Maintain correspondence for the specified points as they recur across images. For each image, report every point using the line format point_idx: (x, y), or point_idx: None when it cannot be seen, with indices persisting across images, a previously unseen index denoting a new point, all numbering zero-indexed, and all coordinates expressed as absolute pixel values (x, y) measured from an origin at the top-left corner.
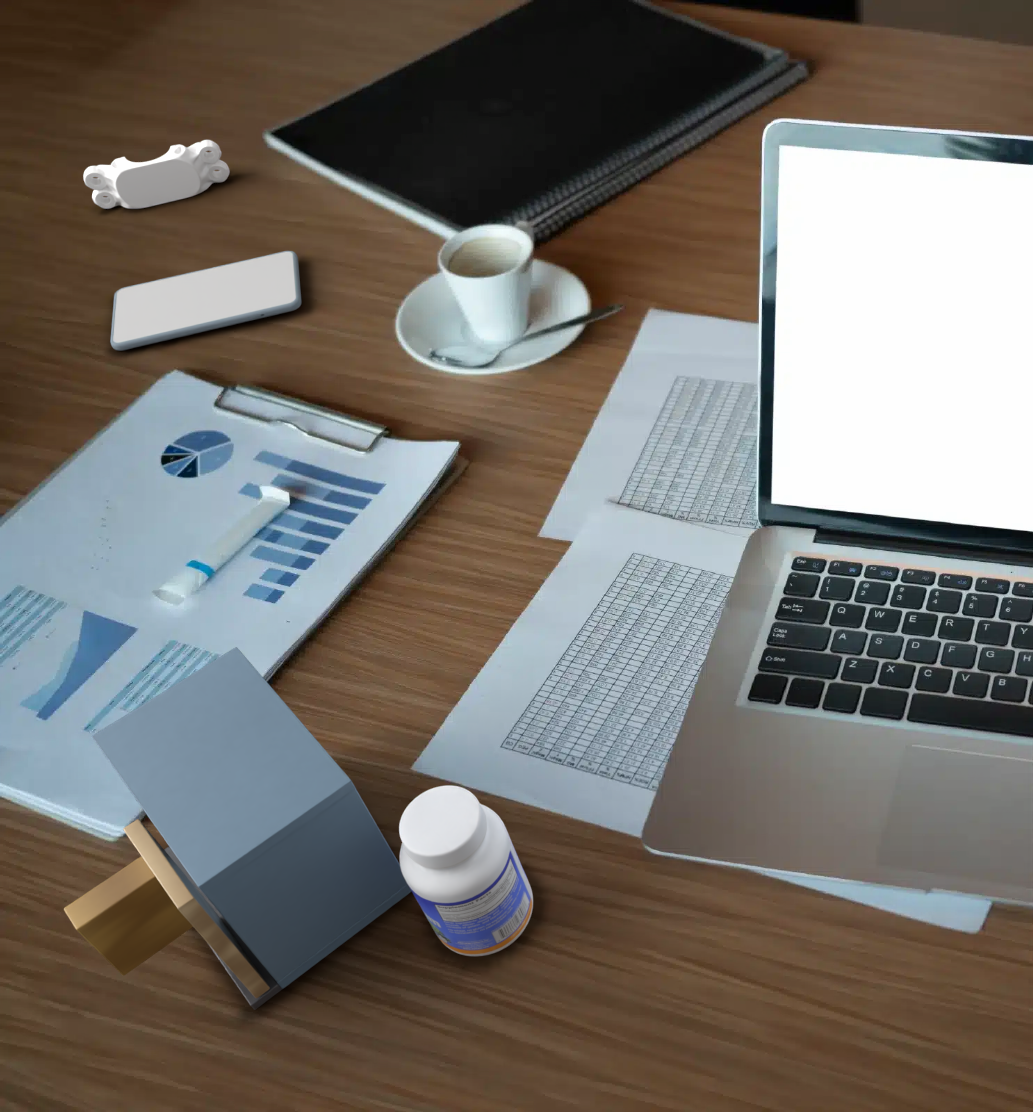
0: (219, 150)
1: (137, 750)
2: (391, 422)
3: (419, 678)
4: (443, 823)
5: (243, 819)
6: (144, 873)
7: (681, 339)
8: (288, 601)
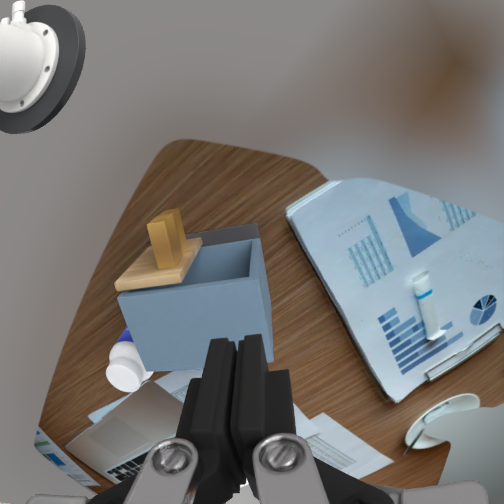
0: None
1: (228, 299)
2: (431, 383)
3: (283, 355)
4: (119, 379)
5: (146, 328)
6: (163, 264)
7: (371, 465)
8: (373, 323)
